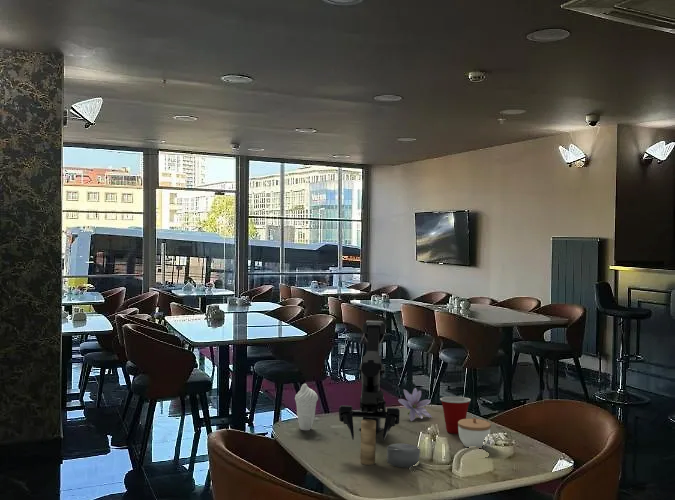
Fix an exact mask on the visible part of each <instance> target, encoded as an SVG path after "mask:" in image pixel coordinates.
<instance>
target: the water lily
mask: <svg viewBox="0 0 675 500" xmlns="http://www.w3.org/2000/svg"><path fill="white" fill-rule="evenodd" d="M403 394H404V396H405V399H404V398H399V399H398V400H397V401H398V402H399V404H400V405H403V406H404V408H406V409H407V410H409V411H408V412H407V415H408V416H409V420H410V422H412V421H415V419H416V415H417V416H418V417H419V418H420V419H423V416H424V417H426V418H430V417H431V418H432V414H431V413H429V412H428V411H427V409H426V408H424V407H425V406H427V405H429V404H431V400H430V399H423V400H421V397H422V390H418V389H417V388H416V387H414V388H413V390H412V393H410V392H409V391H408V390H406V389H405V388H403Z"/></svg>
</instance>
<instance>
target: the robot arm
mask: <svg viewBox="0 0 675 500" xmlns="http://www.w3.org/2000/svg"><path fill="white" fill-rule="evenodd" d="M362 334H364V339H365V341H366V353H365V355H364V356H363V357H362V361H361V362H362V363H360V364H359V367H358V369H359V370H358V371H359V374H358V375H360V376H361V392H360V393H361V396H359V397H360V398H359V410H356V409H354V410H353V406H352V405H343V404H342V405H340V406H339V408H338V416H339V417H338V418H339V421H340V422H342V423H343V425H346V426H347V428H348V431H349V433H350V436H351V439H352V440H354V439H355V433H354V432H355V430H354V419H353V418H354V417H355V418H362V420H365V419H371V420H375V421H376V433H379V432H382V431H383V432H382V442H384V441H385V440H386V437H387V435H388V433H389V431H390V429H391V428H392V427H395V426H396V425H399V424H400V415H401V414H400V411H401V410H400V409H399V408H398V407H386V405H387V404H386V403H387V402H386V400H385V397H384V394H385V393H384V390H381V388H380V384H381V382H380V380H381V379H380V378H381V377H382V376H383V375H385V374H386V368H385V367H384V366H385V365H384V364H382V357H381V356H380V345H381V344H382V342H383V341H384V337H385V335H386V334H387V324H386V323H385V322H384V321H383V320H373V319H372V320H369V319H368V320H366V322H364V323H362ZM381 419H384V426H383V427H381ZM358 430H359V431H361V427H359V429H358Z"/></svg>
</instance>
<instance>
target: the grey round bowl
mask: <svg viewBox="0 0 675 500" xmlns="http://www.w3.org/2000/svg"><path fill="white" fill-rule="evenodd" d="M418 448H419V447H418V446H417V445H415V444H410V443H401V442H400V443H391V444H389V445H387V447H386V463H387V464H388V465H391V466H394V467H397V468H412V467H411V466H413V465H415V464H416V463H417V462H418V461H419V457H420V453H421V452H420V451H421V449H420V448H419V449H418ZM420 458H421V457H420Z"/></svg>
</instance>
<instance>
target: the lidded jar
mask: <svg viewBox="0 0 675 500" xmlns="http://www.w3.org/2000/svg"><path fill="white" fill-rule="evenodd" d="M491 430H492V425H491V423H490V422H489V421H487V420H484V419H479V418H476V417H472V418H466V419H462V420H459V421H458V433H459V434H458V437H459V439H460V442H461V443H462V444H463V445H464V447H465V448H467V447H469V446H476V447H482V446H483V442H484V439H485V437H486V436H487V435H488V434H490V435H491ZM483 447H484V446H483Z"/></svg>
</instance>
